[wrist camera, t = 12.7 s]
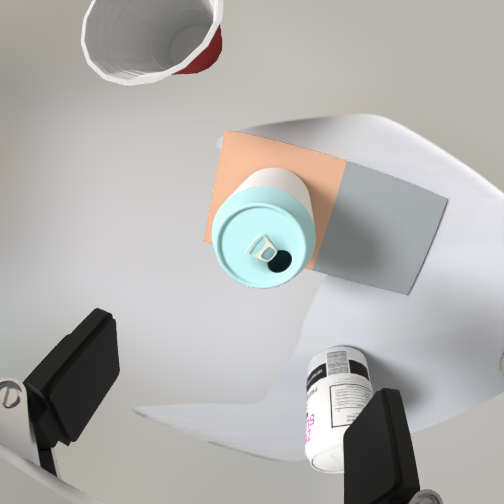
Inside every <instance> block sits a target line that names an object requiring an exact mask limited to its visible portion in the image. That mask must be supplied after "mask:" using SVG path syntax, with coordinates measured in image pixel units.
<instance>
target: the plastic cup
mask: <svg viewBox="0 0 504 504" xmlns="http://www.w3.org/2000/svg"><path fill="white" fill-rule="evenodd" d="M222 16H223V0H93V1H92V3H91V5H90V7H89V9H88V11H87V13H86V15H85V17H84V20H83V28H82V36H81V45H82V48H83V51H84V54H85V57H86V60H87V63H88V65H89V66H90V67H91V68H92V69H93V70H94V71H96V72H97V73H98V74H99V75H100V76H101V77H102V78H103V79H104V80H108V81H112V82H115V83H119V84H122V85H126V86H130V85H137V84H145V83H153V82H157V81H159V80H161V79H163V78H165V77H167V76H169V75H176V74H191V73H198V72H201V71H203V70H205V69H208V68H209V67H210V66H211V65H212V64H214V62H216V61H217V59H218V57H219V55H220V53H221V51H222V37H221V29H220V22H221V20H222Z"/></svg>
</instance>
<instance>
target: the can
mask: <svg viewBox="0 0 504 504" xmlns="http://www.w3.org/2000/svg"><path fill="white" fill-rule="evenodd" d="M212 242H213V247H214V250H215V253H216V255H217V258H218V261H219V263H220V265H221V266H222V268H223V269H224V271H225V272H226V273H227V274H228V275H229V276H230V277H232V278H233V279H234V280H236V281H237V282H239V283H241V284H243V285H246V286H248V287H253V288H260V289H266V288H273V287H277V286H280V285H282V284H284V283H286V282H288V281H289V280H291V279H292V278H293V277H295V276H296V275H298V274H299V273H300V272H301V271H302V270H303V269H304V268H305V267H306V265H307V264H308V263H309V261H310V259H311V257H312V255H313V252H314V249H315V243H316V232H315V225H314V219H313V212H312V206H311V200H310V195H309V192H308V189H307V187H306V186H305V184H304V183H303V181H302V180H301V179H300V178H299V177H298V176H297V175H295V174H294V173H292V172H290V171H288V170H285V169H282V168H265V169H262V170H259V171H257V172H255V173H253V174H252V175H251V176H249V177H248V178H247V179H246V180H245V181H244V182H243V183H242V184H241V185H240V186H239V188H238V189H237V190H236V191H235V192H234V193H233V194H232V195H231V196H230V197H229V198H228V199H227V200H226V201H225V202H224V203H223V204H222V205H221V207H220V208H219V210H218V212H217V213H216V216H215V218H214V221H213V226H212Z"/></svg>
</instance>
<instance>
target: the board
mask: <svg viewBox="0 0 504 504" xmlns="http://www.w3.org/2000/svg"><path fill="white" fill-rule="evenodd" d="M265 168H282V169H285V170H288V171H290V172H292V173H294V174H295V175H297V176H298V177H299V178H300V179H301V180H302V181H303V183H304V184H305V186H306V187H307V189H308V192H309V195H310V200H311V206H312V212H313V219H314V225H315V232H316V243H315V249H314V252H313V255H312V257H311V259H310V261H309V263H308V264H307V265H306V267H305V268H306V269H310V270H313V271H318V272H321V273H325V274H329V275H332V276H336V277H340V278H344V279H347V280H351V281H355V282H359V283H363V284H367V285H370V286H374V287H378V288H382V289H386V290H389V291H393V292H397V293H401V294H405V295H408V293H409V291H410V289H411V287H412V285H413V283H414V281H415V278H416V276H417V274H418V272H419V270H420V268H421V265H422V263H423V261H424V259H425V256H426V254H427V252H428V249H429V247H430V244H431V242H432V240H433V237H434V235H435V232H436V229H437V227H438V224H439V222H440V219H441V216H442V214H443V211H444V208H445V205H446V202H447V198H445V197H443V196H441V195H438V194H436V193H433V192H431V191H429V190H426V189H424V188H421V187H419V186H416V185H414V184H411V183H409V182H406V181H404V180H401V179H398V178H396V177H393V176H390V175H387V174H385V173H382V172H379V171H376V170H373V169H371V168H368V167H365V166H362V165H359V164H356V163H353V162H349V161H346V160H343V159H340V158H337V157H333V156H330V155H327V154H323V153H320V152H317V151H313V150H309V149H306V148H302V147H299V146H295V145H291V144H287V143H283V142H279V141H275V140H271V139H267V138H263V137H258V136H254V135H249V134H245V133H240V132H235V131H230V130H225V134H224V139H223V144H222V148H221V153H220V159H219V163H218V168H217V173H216V178H215V183H214V188H213V193H212V198H211V204H210V209H209V215H208V221H207V226H206V231H205V237H204V242H208V243H211V244H213V242H212V226H213V221H214V218H215V216H216V213H217V212H218V210H219V208H220V207H221V205H222V204H223V203H224V202H225V201H226V200H227V199H228V198H229V197H230V196H231V195H232V194H233V193H234V192H235V191H236V190H237V189H238V188H239V186H240V185H241V184H242V183H243V182H244V181H245V180H246V179H247V178H248V177H249V176H251V175H252V174H253V173H255V172H257V171H259V170H262V169H265Z"/></svg>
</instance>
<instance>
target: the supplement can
mask: <svg viewBox="0 0 504 504" xmlns="http://www.w3.org/2000/svg"><path fill="white" fill-rule="evenodd" d="M373 396H374V394H373V389H372V384H371V379H370V374H369V370H368V365H367V361H366V358H365V356H364V355H363V354H362V353H361V352H360V351H358V350H356V349H354V348H351V347H343V346H337V347H331V348H328V349H326V350H323V351H321V352H319V353H318V354H316V355H315V356H314V357H313V358H312V359H311V360H310V362H309V364H308V365H307V400H306V438H305V454H306V456H307V457H308V459H309V460H310V464H311V466H312V467H313V468H314V469H316V470H318V471H320V472H325V473H344V454H343V435H344V433H345V431H346V430H347V428H348V427H349V426H350V425H351V424H352V422H353V421H354V420H355V419H356V417H357V416H358V415H359V414H360V412H361V411H362V410H363V409H364V407H365V406H366V405H367V404H368V402H369V401H370V400H371V398H372V397H373Z"/></svg>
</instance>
